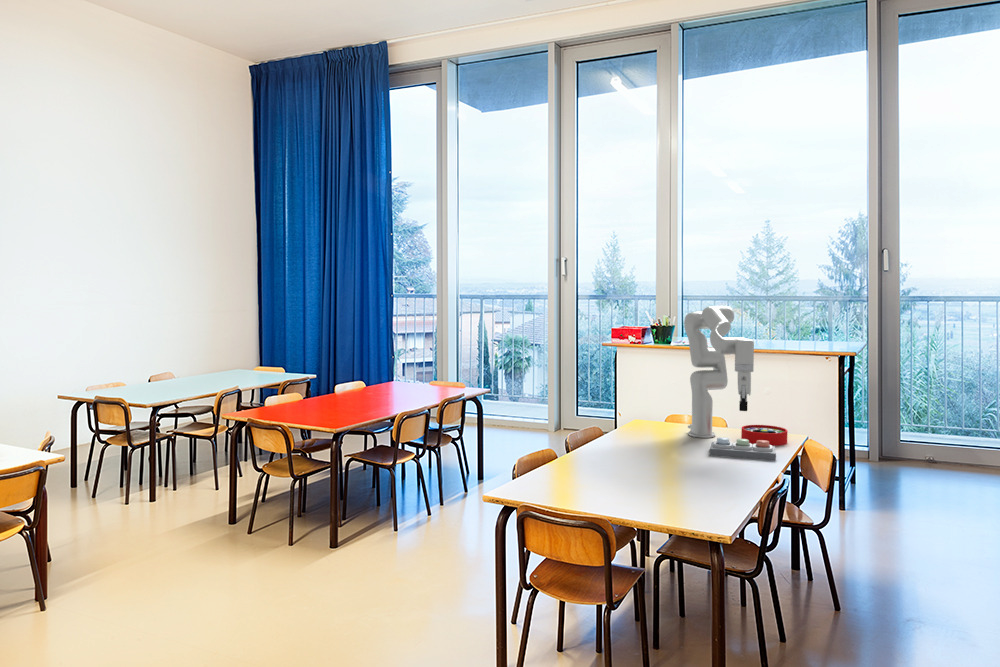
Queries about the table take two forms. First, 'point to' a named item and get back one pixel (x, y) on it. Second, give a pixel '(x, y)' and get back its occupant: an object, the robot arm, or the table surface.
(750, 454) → the console
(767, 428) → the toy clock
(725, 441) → the blue grey button
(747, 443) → the sage button
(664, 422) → the table surface
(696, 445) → the table surface
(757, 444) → the brick button
